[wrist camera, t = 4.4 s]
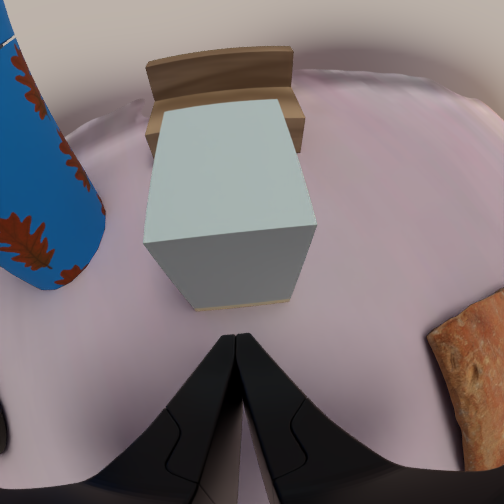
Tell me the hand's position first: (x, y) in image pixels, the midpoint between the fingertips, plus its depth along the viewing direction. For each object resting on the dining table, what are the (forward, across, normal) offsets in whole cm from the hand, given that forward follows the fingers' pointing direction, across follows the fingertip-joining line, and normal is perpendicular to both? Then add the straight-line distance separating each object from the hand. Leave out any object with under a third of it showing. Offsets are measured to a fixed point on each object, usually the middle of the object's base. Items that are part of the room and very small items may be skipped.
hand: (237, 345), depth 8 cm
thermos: (+14, +16, -1) cm, 21 cm away
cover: (+13, 0, -1) cm, 13 cm away
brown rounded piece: (+2, -21, +11) cm, 24 cm away
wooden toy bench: (+21, 0, -8) cm, 22 cm away
